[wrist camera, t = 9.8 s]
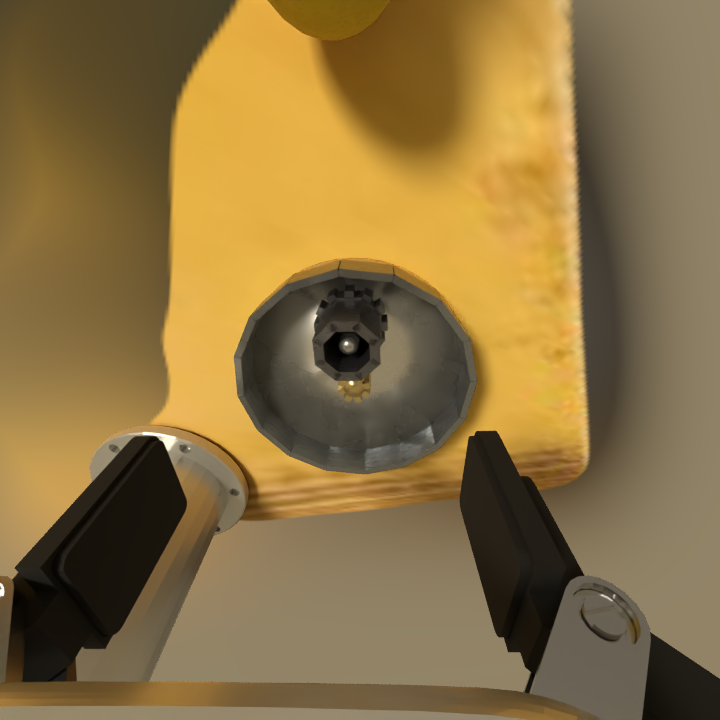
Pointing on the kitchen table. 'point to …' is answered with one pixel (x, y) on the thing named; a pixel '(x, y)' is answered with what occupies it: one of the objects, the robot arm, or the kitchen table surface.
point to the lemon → (330, 16)
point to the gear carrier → (356, 398)
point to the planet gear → (349, 316)
